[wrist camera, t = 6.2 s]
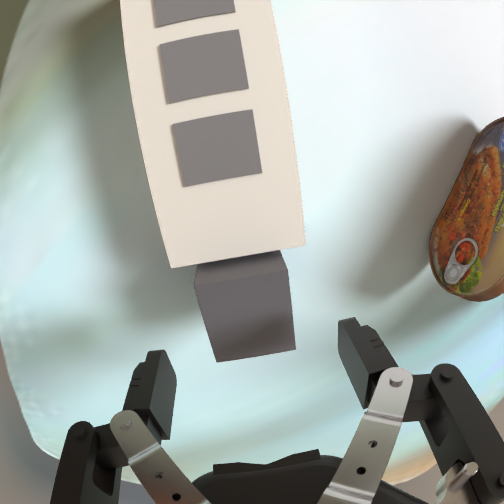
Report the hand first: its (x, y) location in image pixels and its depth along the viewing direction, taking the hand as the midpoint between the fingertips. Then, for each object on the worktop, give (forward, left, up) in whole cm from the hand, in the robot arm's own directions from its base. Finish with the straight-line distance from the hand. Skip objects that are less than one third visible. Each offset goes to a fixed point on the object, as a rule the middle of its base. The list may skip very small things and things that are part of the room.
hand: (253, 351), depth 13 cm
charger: (-2, 0, -9) cm, 9 cm away
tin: (-3, +19, -9) cm, 21 cm away
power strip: (-12, 0, -9) cm, 15 cm away
